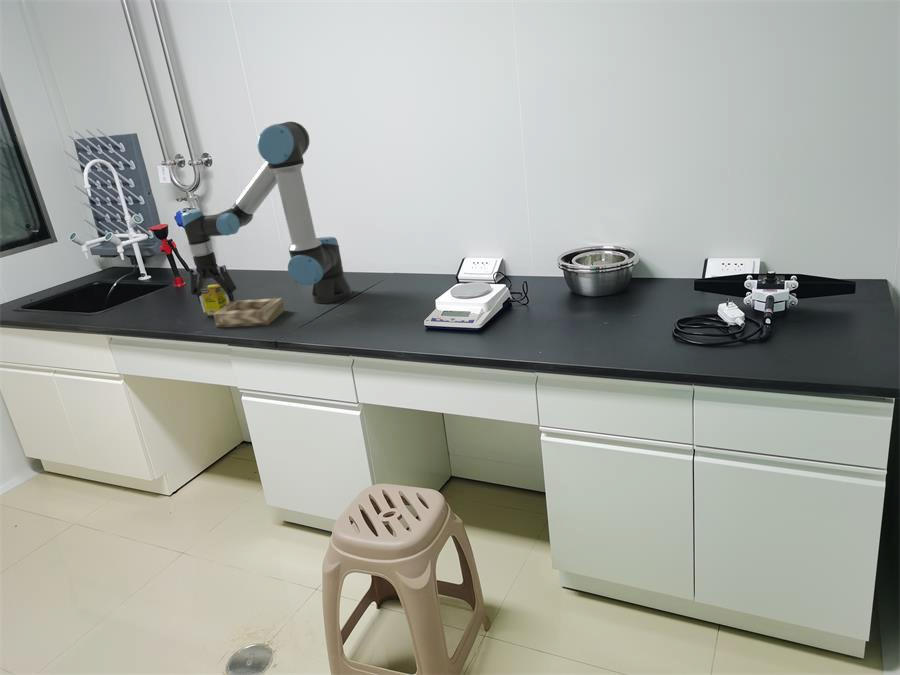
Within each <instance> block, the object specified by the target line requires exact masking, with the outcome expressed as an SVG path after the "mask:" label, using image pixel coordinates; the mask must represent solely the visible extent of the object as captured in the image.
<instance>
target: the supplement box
mask: <svg viewBox="0 0 900 675" xmlns="http://www.w3.org/2000/svg"><path fill="white" fill-rule="evenodd" d="M201 292H202V296H203V299H204V303H205V307H206V310H207V312H206V313H207V317H208V318H214V315H213V314H214V313H216V312H217V311H219V310H220V309H222V308H223V307H224V306H226V305H227V304H228V303H227V300H226V296H225V294H226V292H225V290H224V289H223V288H222V287H221V286H220V285H219V284H218V283H217V284H209V285H207V286H206V287H204V288H203V289H202V290H201Z"/></svg>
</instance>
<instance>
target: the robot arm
mask: <svg viewBox="0 0 900 675" xmlns="http://www.w3.org/2000/svg"><path fill="white" fill-rule="evenodd" d="M310 142H311V140H310V135H309V132H308V131H307V129H306V128H305V127H304V126H303V125H302V124H301V123H298V122H296V121H286V122H282V123H275V124H272V125H269V126H267V127H265V128H264V129H263V130H262V131H261V132H260V134H259V136H258V139H257V149H258V152H259V155H260V156H261V158H262V159H264V160H265V162H264V163H263V164H262V165H261V167H260V168H259V169H258V171H257V172H256V173H255V175H254V176H253V178H252V179H251V180H250V181H249V183H248V184H247V186H246V187H245V188H244V189H243V191H242V192H241V194H240V195H239V196H238V198H237V199H236V201H235V202H234V203H233V205H232V206H231V207H230V208H228V209H226V210H224V211H222V212H220V213H215V214H210V215H209V214H208V215H206V214H204V213H203V210H201V209H192V210H188V211H186V212H183V213H182V214H181V221H182V225H183V229H184V232H185V234H186V237H187V241H188V245H189V248H190V249H189V250H190V254H191V255H193V257H192V260H193V262H194V266H196V267H192V268H191V269H189V271H188V272H189V274H190V294H191V295H193V296H194V295H195V296H196V297H197V299H198V303H199V304H201V307H202V311H203V313H204V314H205V313H207V310H206V307H205V303H204V299H203V296H202V292H201V290H202V289H204V288H205V283H206V279H212V280H214V281H215V282H216V283H217V285H218V284H219V285H220V286H221V287H222V288H223V289H224V292H225V296H226V300H227V303H228V304H229V303H230V302H232V301H235V297H234V291H236V290H237V286H236V285H235V283H234V281H233V280H232V278H231V276H230V275H229V273H228V270H227V267H226V265H225V264H224V265H220V266H219V265H218V264H217V258H216V255H215V252H213V251H214V248H213V244H212V241H211V237H218V236H219V237H222V236H230V235H235V234H238V232H239V230H240V229H241V227H245V226H247V225H248V224H249V223H250V222H252V220H253V218H254V214H255V212H256V211H257V210H258V209H259V208H260V206H261V204H263V202H264V201H265V200H266V199H267V197H268V196H269V195H270V193H271V192H272V190H273V189H274V188H275V187H276V185H277V187H278V192H279V195H280V199H281V204H282V208H283V212H284V217H285V221H286V225H287V229H288V233H289V238H290V243H291V244H290V245H289V247H288V252H289V255H290V260H289V261H288V263H287V272H288V274H289V277H290V278H291V279H292V280H293V281H294V282H296V283H297V284H299V285H301V286H308V287H309V286H312V289H311V297H312V302H314V303H316V304H332V303H336V302H341V301H343V300H346V299H349V298H350V297H351V296H352V294H353V291H352V287H351V285H350V283H349V281H348V280H347V278H346V276H345V274H344V269H343V268H344V267H343V263H342V257H341V252H340V245H339V243H338V240H337V238H336V237H333V236H324V237H323V236H322V237H317V236H316V231H315V227H314V223H313V217H312V213H311V209H310V206H309V199H308V195H307V191H306V188H305V187H306V186H305V183H304V182H305V181H304V177H303V172H302V168H303V166H304V164H305V161H304V157H303V156H304V155H305V154H306V152H307V150H309V146H310ZM198 274H199V278H198Z"/></svg>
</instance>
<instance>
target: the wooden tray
mask: <svg viewBox="0 0 900 675" xmlns="http://www.w3.org/2000/svg"><path fill="white" fill-rule="evenodd" d="M285 311H286V310H285V306H284V301H283V298H282V297H277V298H257V299H244V300H243V299H242V300H234V301H232V302H230V303H229V304H227V305H226V306H224V307H223V308H222V309H220V310H219V311H217V312H216V313H214V314H213V315H214V317H213V318H214V322H215V326H216V328H231V327H233V328H234V327H253V326H255V327H257V326H269V325H270V324H271V323H273V322H274V321H275V320H276V319H277V318H278V317H279V316H281V315H282V314H283V313H284V312H285Z"/></svg>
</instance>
